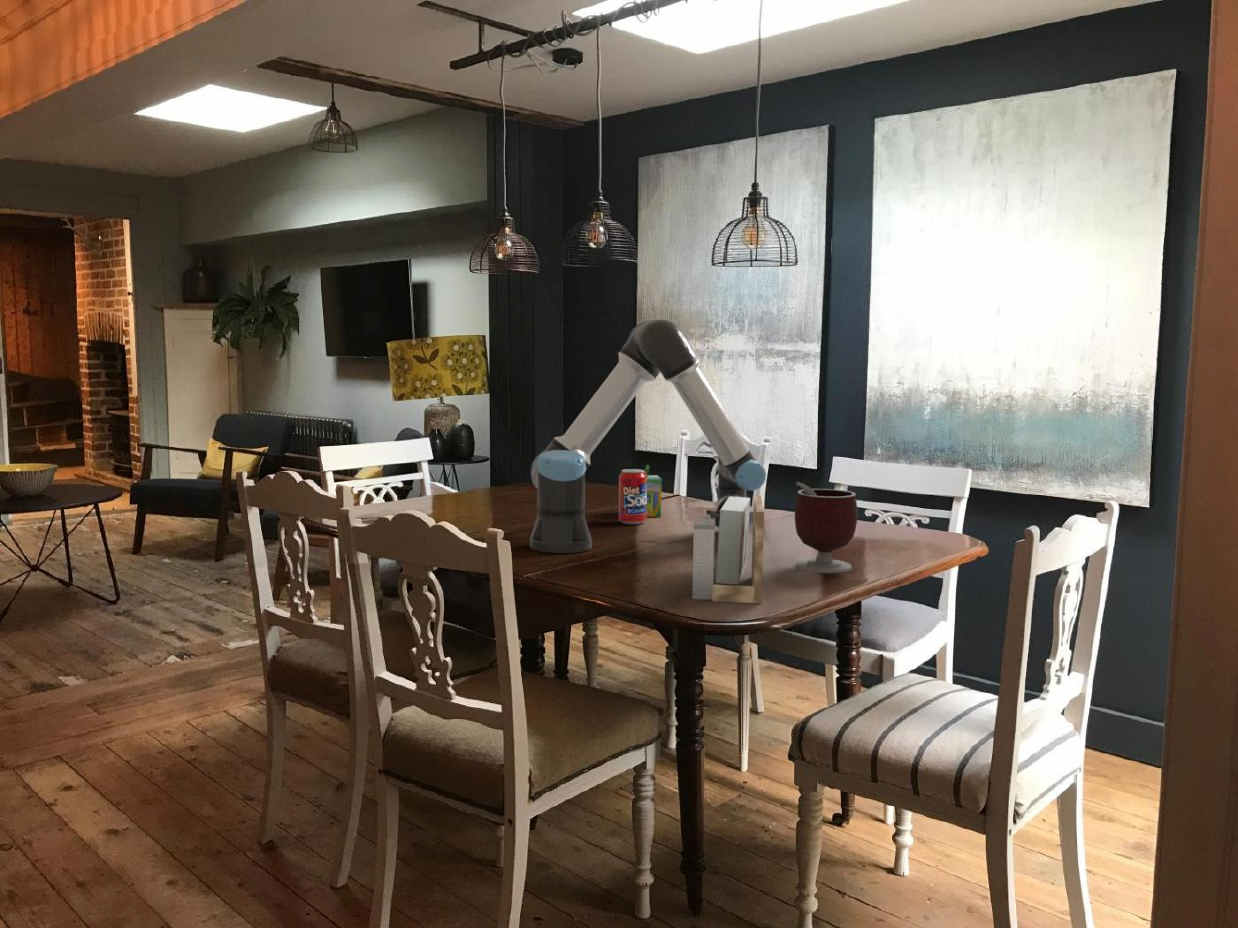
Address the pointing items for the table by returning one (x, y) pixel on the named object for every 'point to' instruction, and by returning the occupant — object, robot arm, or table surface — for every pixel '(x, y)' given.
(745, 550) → the skincare box
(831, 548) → the mate gourd
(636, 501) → the soda can
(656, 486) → the juice box
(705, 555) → the grey carton
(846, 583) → the table surface
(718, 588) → the oak shelf corner
